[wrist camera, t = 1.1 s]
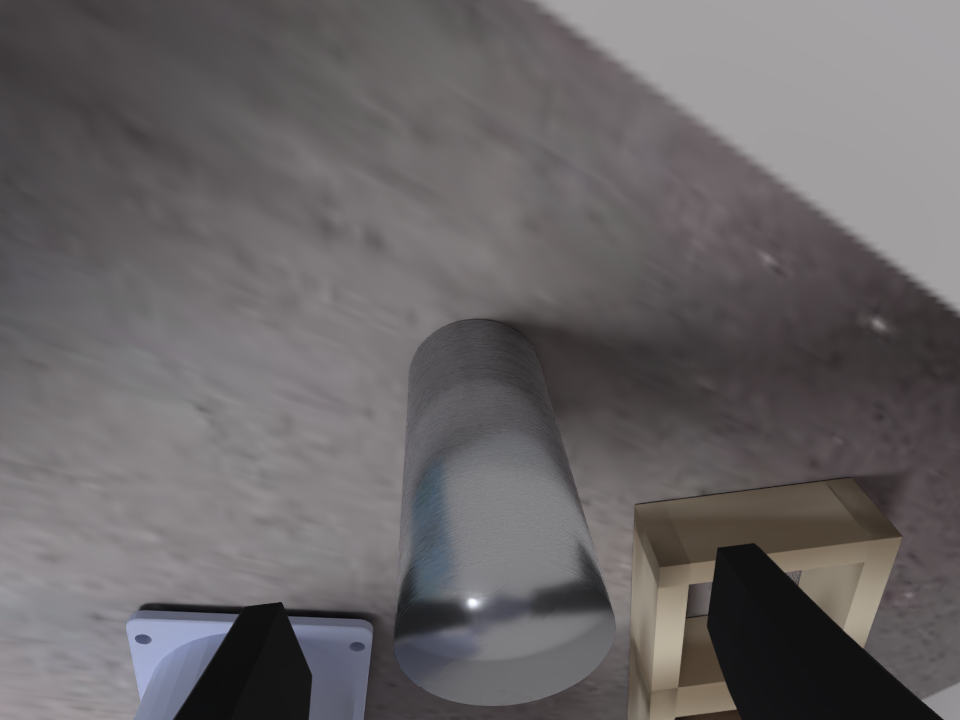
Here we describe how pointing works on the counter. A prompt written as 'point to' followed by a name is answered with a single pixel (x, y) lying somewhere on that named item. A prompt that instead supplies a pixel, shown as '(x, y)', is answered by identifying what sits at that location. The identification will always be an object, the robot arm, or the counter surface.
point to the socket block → (691, 559)
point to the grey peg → (492, 529)
